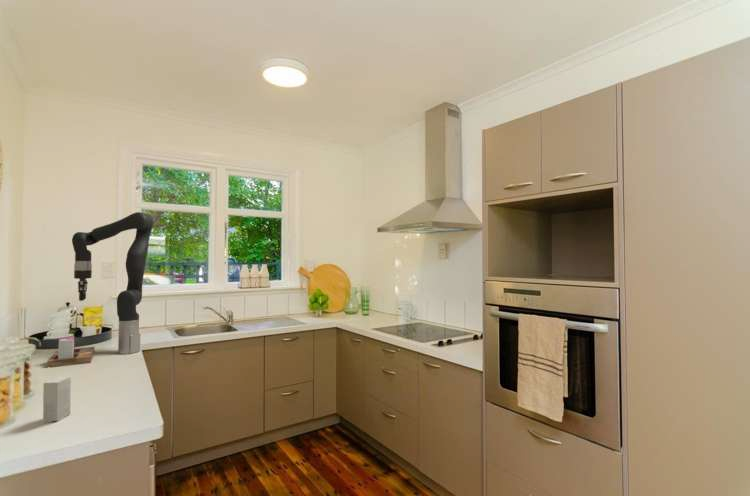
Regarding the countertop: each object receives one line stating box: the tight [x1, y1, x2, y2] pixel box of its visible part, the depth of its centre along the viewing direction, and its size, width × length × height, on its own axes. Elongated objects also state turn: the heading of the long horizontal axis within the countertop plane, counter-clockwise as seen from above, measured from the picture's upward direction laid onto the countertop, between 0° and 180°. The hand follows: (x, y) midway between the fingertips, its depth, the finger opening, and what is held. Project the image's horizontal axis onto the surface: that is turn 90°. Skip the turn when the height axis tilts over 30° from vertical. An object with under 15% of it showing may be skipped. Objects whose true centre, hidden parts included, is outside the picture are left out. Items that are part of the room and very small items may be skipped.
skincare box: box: [42, 376, 72, 423], centre depth 122 cm, size 6×4×12 cm
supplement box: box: [57, 337, 76, 359], centre depth 188 cm, size 6×6×12 cm
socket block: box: [47, 346, 95, 369], centre depth 194 cm, size 25×16×3 cm, turn 32°
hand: (82, 299), depth 209 cm, fingers open, 8 cm apart
